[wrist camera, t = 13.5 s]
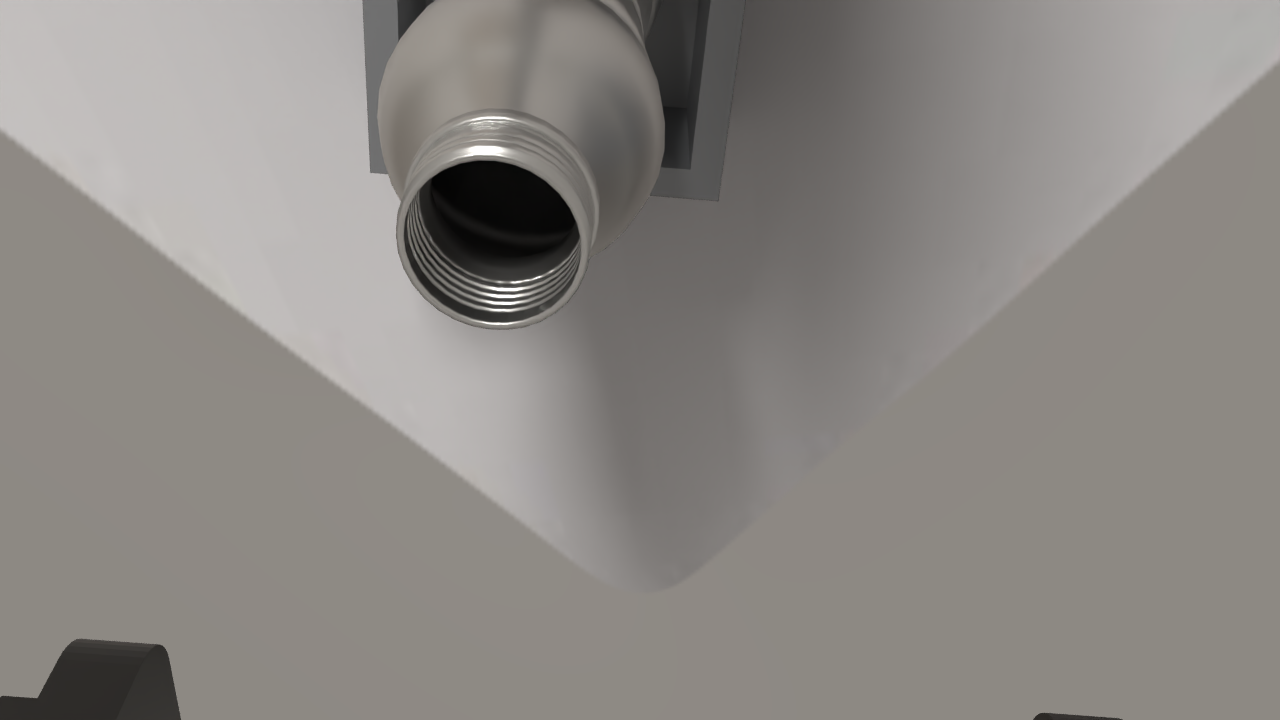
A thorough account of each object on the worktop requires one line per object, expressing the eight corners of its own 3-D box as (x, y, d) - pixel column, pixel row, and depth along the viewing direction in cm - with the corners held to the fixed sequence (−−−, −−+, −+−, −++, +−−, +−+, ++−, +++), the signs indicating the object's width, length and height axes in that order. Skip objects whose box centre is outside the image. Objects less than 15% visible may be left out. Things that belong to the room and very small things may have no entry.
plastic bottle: (658, -175, 36) (652, 49, 20) (674, 42, 40) (681, 384, 23) (449, -155, 37) (271, 80, 20) (484, 58, 40) (359, 405, 24)
